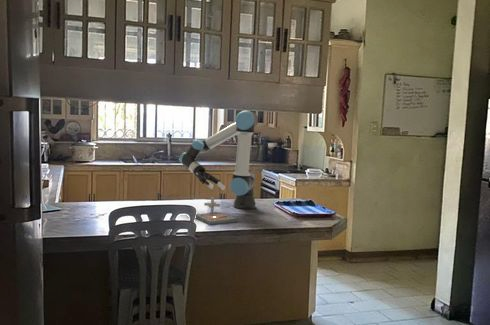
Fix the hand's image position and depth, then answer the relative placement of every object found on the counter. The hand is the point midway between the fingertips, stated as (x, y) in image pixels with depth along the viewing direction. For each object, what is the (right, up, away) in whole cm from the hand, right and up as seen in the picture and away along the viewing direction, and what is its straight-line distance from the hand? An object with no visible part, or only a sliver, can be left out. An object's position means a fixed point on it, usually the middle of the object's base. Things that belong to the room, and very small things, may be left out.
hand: (218, 188), depth 290 cm
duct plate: (-1, -17, -21) cm, 27 cm away
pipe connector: (-4, -15, -1) cm, 16 cm away
